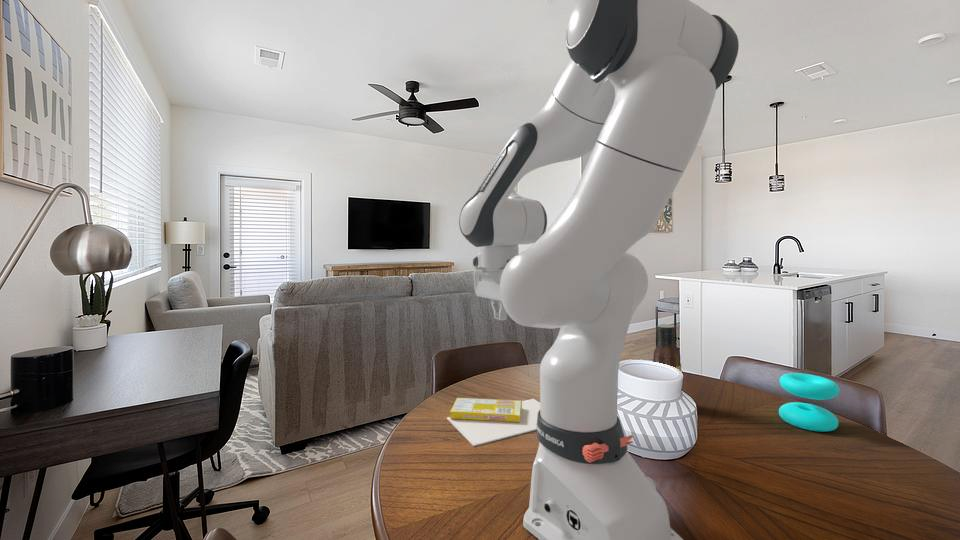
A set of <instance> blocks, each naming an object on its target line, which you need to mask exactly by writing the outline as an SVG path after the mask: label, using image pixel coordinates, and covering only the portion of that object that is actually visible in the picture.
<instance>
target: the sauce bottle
mask: <svg viewBox="0 0 960 540" xmlns="http://www.w3.org/2000/svg"><path fill="white" fill-rule="evenodd" d="M656 332H657V344H656V347H655V349H654V350H653V361H652V363H653V362H659V363H663V364H667V365H670V366H673V367H675V368H677V369H679V370H680V371H681V372H682V364H681V363H682V362H681V352H680V350H679V349H678V347H677V345H676V339H675V336H676V335H675V333H676V326H675V325H673V324H665V323H663V324H662V323H661V324H658V325H657V326H656Z"/></svg>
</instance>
